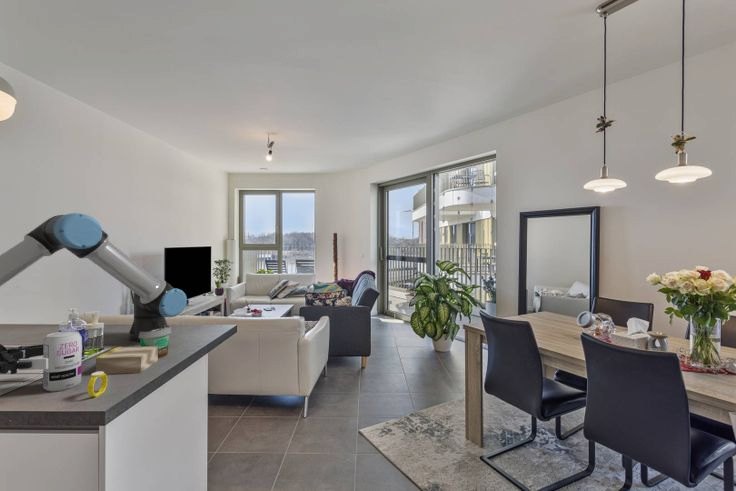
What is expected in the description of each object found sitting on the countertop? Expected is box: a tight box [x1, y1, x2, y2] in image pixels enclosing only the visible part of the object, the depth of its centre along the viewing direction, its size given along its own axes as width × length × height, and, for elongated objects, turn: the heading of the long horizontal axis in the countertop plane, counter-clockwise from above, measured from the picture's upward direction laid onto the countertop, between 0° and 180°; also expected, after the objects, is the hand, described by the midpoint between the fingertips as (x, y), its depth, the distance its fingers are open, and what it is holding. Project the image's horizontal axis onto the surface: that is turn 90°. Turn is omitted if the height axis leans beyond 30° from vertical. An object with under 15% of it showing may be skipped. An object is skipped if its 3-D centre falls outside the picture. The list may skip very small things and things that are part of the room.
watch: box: [86, 371, 109, 398], centre depth 96 cm, size 6×3×6 cm, turn 4°
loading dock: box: [95, 346, 159, 375], centre depth 117 cm, size 12×13×5 cm
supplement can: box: [42, 330, 83, 392], centre depth 101 cm, size 8×8×15 cm
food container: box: [138, 324, 172, 359], centre depth 129 cm, size 12×6×10 cm, turn 168°
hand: (65, 355), depth 101 cm, fingers open, 13 cm apart
